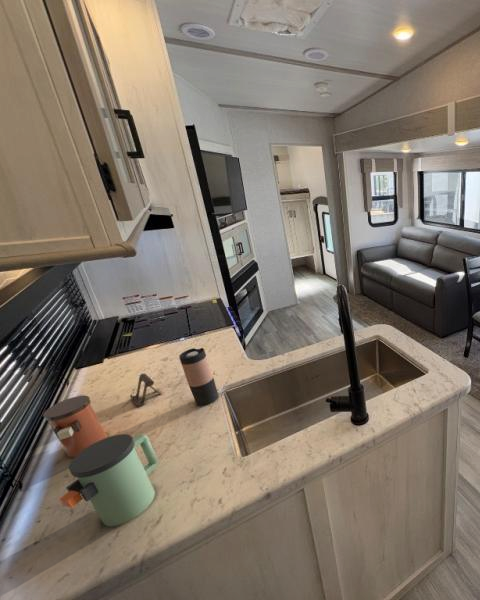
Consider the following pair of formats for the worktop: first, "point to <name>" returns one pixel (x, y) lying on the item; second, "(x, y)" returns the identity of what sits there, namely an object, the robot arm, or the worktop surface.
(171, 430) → the worktop surface
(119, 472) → the sage jug
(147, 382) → the tablet stand
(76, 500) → the orange cube
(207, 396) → the travel mug
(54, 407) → the terracotta jug
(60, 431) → the button
